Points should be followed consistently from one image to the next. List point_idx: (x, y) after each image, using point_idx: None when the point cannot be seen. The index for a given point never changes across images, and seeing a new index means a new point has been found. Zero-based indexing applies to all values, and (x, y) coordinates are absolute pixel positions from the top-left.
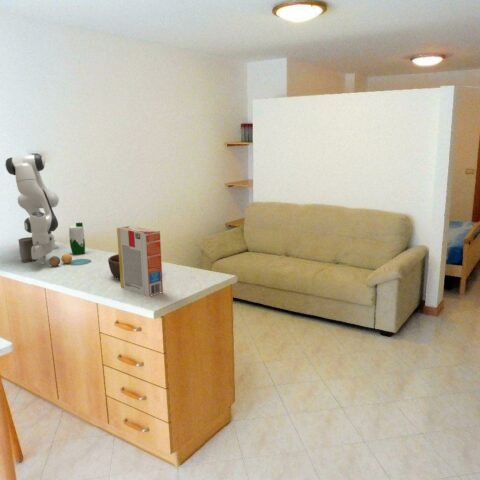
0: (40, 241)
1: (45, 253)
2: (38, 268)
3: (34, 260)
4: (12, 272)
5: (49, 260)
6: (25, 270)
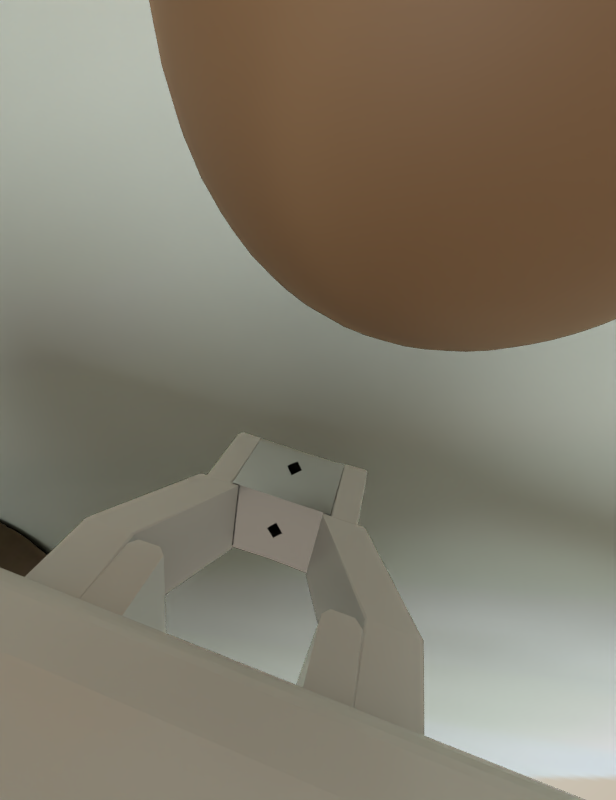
0: None
1: (95, 772)
2: (508, 511)
3: (30, 553)
4: (585, 773)
5: (589, 328)
6: (555, 670)
